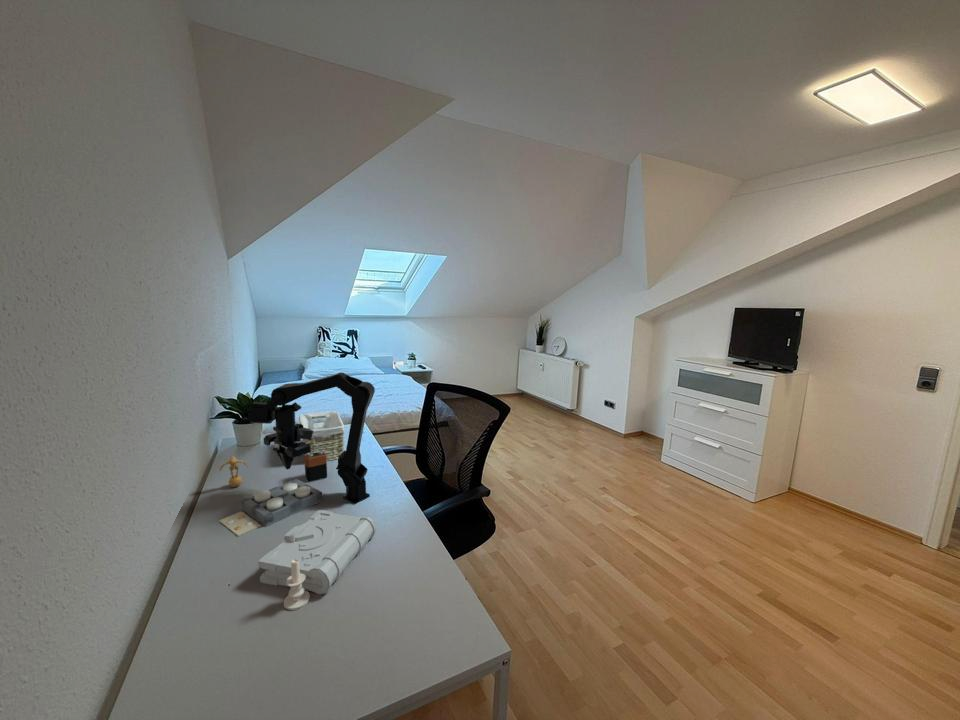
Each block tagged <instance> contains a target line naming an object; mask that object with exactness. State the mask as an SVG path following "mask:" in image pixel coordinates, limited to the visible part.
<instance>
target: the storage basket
mask: <svg viewBox="0 0 960 720" xmlns="http://www.w3.org/2000/svg"><path fill="white" fill-rule="evenodd" d="M324 418H325V421H324V422H322V421H321V422H313V420H316V419H324ZM298 420H299V422H298V423H299V424H302V425H303V428H308V429H310V430H313V435H312V438H311V440H308V439H301V442H304V443H306V444H308V445H310V446H311V452H310V453H316V452H317V451H319V450H322V451H323V452H324V453H325V454H326V458H327V462H329V461H335V460H338V457H339V456H340V455H341V454H342V452H343V451H344V445H345V442H344V441H345V440H344V438H345V437H344V434H345V432H346V431H345V425H344V422H343V420H342V419H341V416H340V413H339V412H338V411H336V410H332V411H331V410H329V411H318V412H310V413H309V412H308V413H301V414H299V416H298ZM307 454H308V453H307ZM307 454H304V455H303V456H305V455H307Z"/></svg>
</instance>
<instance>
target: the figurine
mask: <svg viewBox="0 0 960 720" xmlns="http://www.w3.org/2000/svg"><path fill="white" fill-rule="evenodd" d="M238 463H240V464H241V463H243V464H244V465H245V466H246V467H249V465H248V464H247V463H246V462H245V461H244V460H239V459H237V458H236V457H235V456H234V455H232V456H231V458H230V460H228V461H226V462H224V463H222V464H221V466H220V468H219V471H221V470H222V468H223V467H225V465H230V466H229V467H228V468H229V471H230V474H231V477H230V478H229V480H228V485H229V486H230V487H232V488H237V487H240V486H241V485H242V483H243V477H242V476H240V475H239V470H240V468H239V465H237V464H238ZM234 470H235V471H236V472H235V473H236V475H234V472H233V471H234Z"/></svg>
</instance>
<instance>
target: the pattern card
mask: <svg viewBox="0 0 960 720" xmlns="http://www.w3.org/2000/svg"><path fill="white" fill-rule="evenodd" d="M219 522H220V523H221V524H222V525H223V526H224V527H226V528H228V530H230V531H231V532H233V534H235V535H236V536H237V537H240V536H243V535H244V534H246V533H249V532H251V531H253V530H255V529H258V528H260V527H261V524H260V523H258V522H257V521H256V520H254V519H252V518H251V517H250V516H248V515H247V514H246V513H244V512H243V511H239V512H236V513H234V514H231V515H229V516H227V517H224V518H222V519H219Z"/></svg>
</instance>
